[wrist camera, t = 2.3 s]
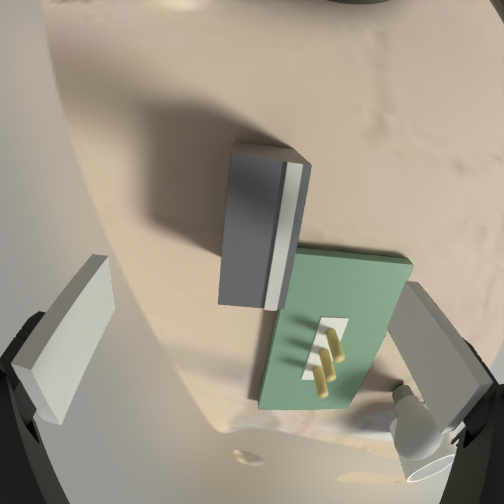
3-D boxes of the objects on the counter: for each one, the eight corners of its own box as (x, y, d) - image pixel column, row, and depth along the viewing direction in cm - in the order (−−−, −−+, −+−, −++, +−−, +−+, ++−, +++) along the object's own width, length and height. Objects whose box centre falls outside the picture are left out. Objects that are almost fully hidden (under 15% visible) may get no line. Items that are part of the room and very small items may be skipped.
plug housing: (234, 141, 21) (230, 155, 15) (293, 148, 21) (312, 165, 16) (223, 258, 25) (217, 306, 19) (275, 263, 25) (284, 311, 20)
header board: (289, 246, 25) (298, 277, 20) (408, 258, 25) (432, 286, 21) (257, 401, 33) (259, 434, 29) (345, 400, 34) (354, 430, 30)
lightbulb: (372, 404, 35) (394, 473, 25) (384, 375, 33) (413, 450, 23) (411, 396, 35) (437, 460, 25) (426, 367, 33) (460, 434, 23)
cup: (452, 409, 39) (474, 454, 30) (389, 437, 41) (405, 486, 32) (459, 384, 36) (485, 434, 27) (388, 416, 37) (407, 472, 28)
